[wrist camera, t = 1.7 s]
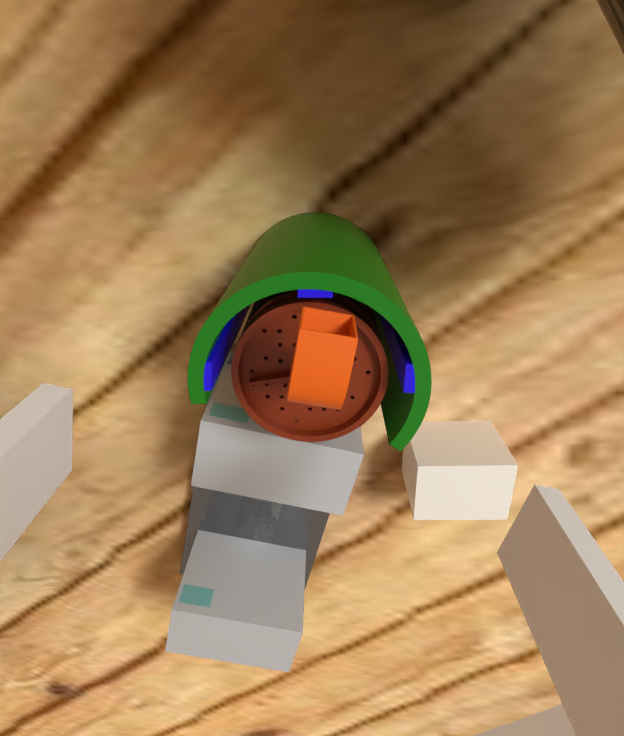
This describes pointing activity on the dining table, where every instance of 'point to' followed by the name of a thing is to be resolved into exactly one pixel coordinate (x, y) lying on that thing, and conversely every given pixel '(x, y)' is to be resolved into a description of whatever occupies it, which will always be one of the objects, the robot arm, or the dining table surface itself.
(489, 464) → the loose relay
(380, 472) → the dining table surface
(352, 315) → the motor
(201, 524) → the rail plate
